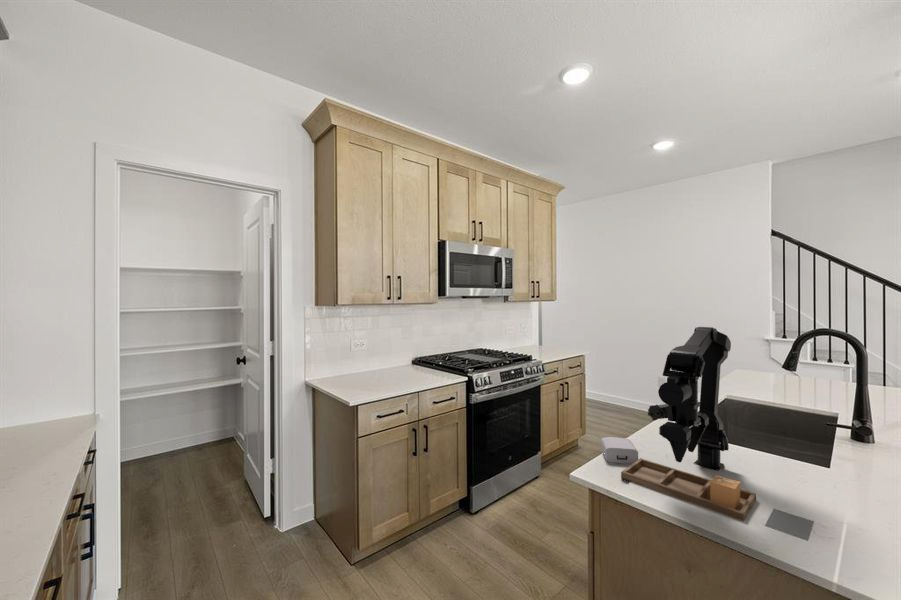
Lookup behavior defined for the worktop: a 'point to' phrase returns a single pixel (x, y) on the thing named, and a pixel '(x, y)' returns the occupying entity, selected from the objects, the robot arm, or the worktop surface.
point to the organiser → (684, 487)
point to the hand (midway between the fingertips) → (684, 456)
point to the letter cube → (725, 491)
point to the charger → (619, 450)
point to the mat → (790, 524)
